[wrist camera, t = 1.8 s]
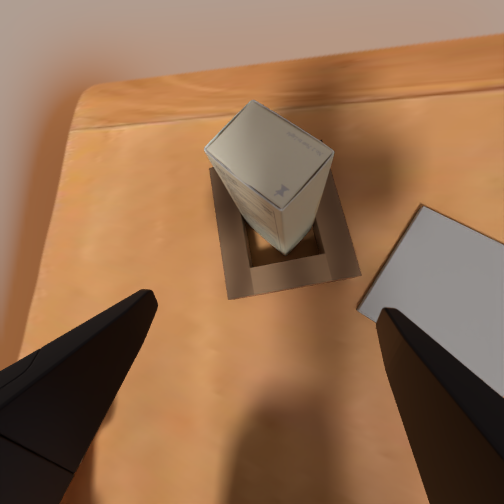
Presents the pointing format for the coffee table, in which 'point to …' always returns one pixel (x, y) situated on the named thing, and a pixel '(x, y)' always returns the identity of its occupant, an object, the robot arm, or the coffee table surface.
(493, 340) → the slate mat
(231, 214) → the walnut holder
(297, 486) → the coffee table surface
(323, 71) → the coffee table surface
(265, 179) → the skincare box
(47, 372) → the robot arm
